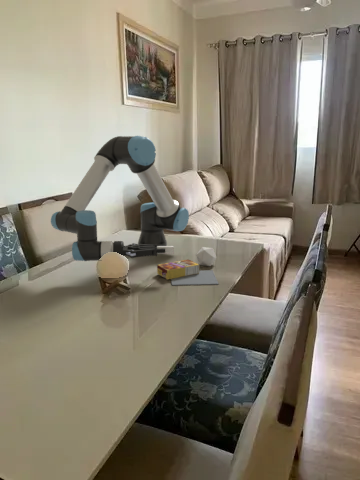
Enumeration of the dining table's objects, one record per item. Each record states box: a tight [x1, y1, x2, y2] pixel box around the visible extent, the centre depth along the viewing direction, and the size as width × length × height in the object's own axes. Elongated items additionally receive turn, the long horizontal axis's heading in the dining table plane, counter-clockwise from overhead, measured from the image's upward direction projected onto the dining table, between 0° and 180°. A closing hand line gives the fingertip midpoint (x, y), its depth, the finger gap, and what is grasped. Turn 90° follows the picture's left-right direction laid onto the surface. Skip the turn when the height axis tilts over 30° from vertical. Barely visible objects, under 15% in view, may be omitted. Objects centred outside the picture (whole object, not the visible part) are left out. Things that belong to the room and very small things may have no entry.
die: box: [195, 246, 217, 267], centre depth 172 cm, size 8×9×10 cm
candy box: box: [156, 258, 200, 280], centre depth 160 cm, size 9×4×15 cm
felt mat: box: [170, 269, 219, 286], centre depth 156 cm, size 16×18×1 cm
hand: (173, 249), depth 153 cm, fingers closed
